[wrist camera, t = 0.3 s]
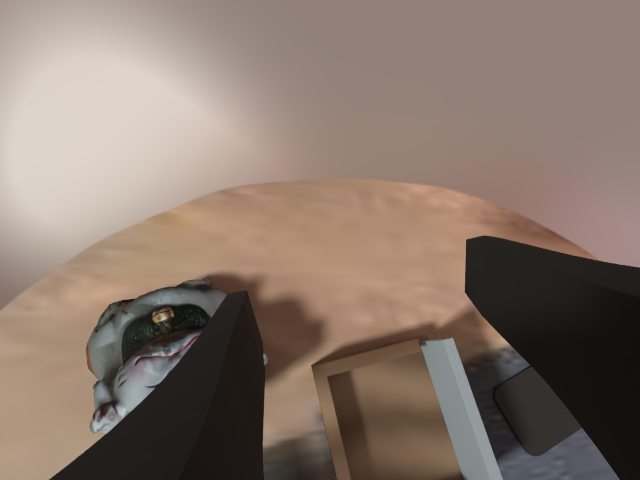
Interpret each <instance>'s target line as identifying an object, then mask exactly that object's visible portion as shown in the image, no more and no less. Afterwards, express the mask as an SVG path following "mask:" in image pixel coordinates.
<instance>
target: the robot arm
mask: <svg viewBox="0 0 640 480" xmlns="http://www.w3.org/2000/svg"><path fill="white" fill-rule="evenodd" d="M465 293H466V294H467V296H468V297H469V299H470V300H471V301H472V303H473V304H474V306H475V307H476V308H477V310H478V311H479V312H480V313H481V315H482V316H483V317H484V318H485V319H486V320H487V321H488V322H489V323H490V325H491V326H492V327H493V328H494V329H495V330H496V331H497V332H498V333H499V334H500V335H501V336H502V337H503V338H504V339H505V340H506V341H507V342H508V343H509V344H510V345H511V346H512V347H513V348H514V349H515V350H516V351H517V352H518V353H519V354H520V355H521V356H522V357H523V358H524V359H525V360H526V361H527V362H528V363H529V364H530V365H531V366H532V367H533V368H534V369H535V371H536V372H537V373H538V374H539V375H540V376H541V377H542V378H543V379H544V380H545V382H546V383H547V384H548V385H549V386H550V388H551V389H552V390H553V391H554V393H555V394H556V395H557V396H558V397H559V399H560V400H561V401H562V402H563V404H564V405H565V406H566V407H567V409H568V410H569V411H570V412H571V414H572V415H573V416H574V418H575V419H576V420H577V422H578V423H579V424H580V426H581V427H582V428H583V429H584V431H585V432H586V433H587V435H588V436H589V437H590V439H591V440H592V441H593V443H594V444H595V445H596V447H597V448H598V449H599V451H600V452H601V454H602V455H603V456H604V458H605V459H606V461H607V462H608V463H609V465H610V466H611V468H612V469H613V470H614V472H615V473H616V475H617V476H618V477H619V479H620V480H640V268H638V267H631V266H625V265H618V264H613V263H607V262H602V261H597V260H592V259H587V258H582V257H578V256H573V255H569V254H564V253H560V252H556V251H551V250H547V249H543V248H539V247H535V246H531V245H527V244H523V243H519V242H515V241H511V240H506V239H502V238H497V237H491V236H480V237H475V238H471V239H467V240H466V271H465ZM264 388H265V366H264V355H263V344H262V339H261V336H260V333H259V329H258V326H257V323H256V319H255V316H254V313H253V309H252V306H251V303H250V299H249V296H248V293H247V290H245V291H241V292H237V293H232V294H228V295H226V297H225V298H224V300H223V301H222V303H221V304H220V306H219V307H218V309H217V310H216V312H215V313H214V315H213V316H212V318H211V319H210V320H209V322H208V323H207V325H206V326H205V328H204V329H203V331H202V332H201V333H200V335H199V336H198V338H197V339H196V340H195V342H194V343H193V344H192V345H191V347H190V348H189V349H188V350H187V352H186V353H185V354H184V356H183V357H182V358H181V359H180V361H179V362H178V363H177V364H176V365H175V367H174V368H173V369H172V370H171V371H170V372H169V373H168V375H167V376H166V377H165V378H164V379H163V380H162V381H161V382H160V383H159V384H158V385H157V386H156V387H155V388H154V389H153V391H152V392H151V393H150V394H149V395H148V396H147V397H146V398H145V399H144V400H143V401H141V402H140V403H139V404H138V405H137V406H136V407H135V408H134V409H133V410H132V411H131V412H130V413H129V414H127V415H126V416H125V417H124V418H123V419H122V420H121V421H120V422H119V423H118V424H117V425H116V426H115V427H113V428H112V429H111V430H110V431H109V432H108V433H107V434H105V435H104V436H103V437H102V438H101V439H100V440H98V441H97V442H96V443H95V444H94V445H92V446H91V447H90V448H89V449H88V450H86V451H85V452H84V453H83V454H81V455H80V456H79V457H78V458H76V459H75V460H74V461H73V462H71V463H70V464H69V465H68V466H66V467H65V468H64V469H63V470H61V471H60V472H59V473H57V474H56V475H55V476H53V477H52V478H51V479H49V480H264V473H263V418H264Z"/></svg>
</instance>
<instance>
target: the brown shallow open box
mask: <svg viewBox="0 0 640 480" xmlns="http://www.w3.org/2000/svg"><path fill="white" fill-rule="evenodd" d="M426 340H428V339H427V336H421V337H417V338H413V339H410V340H406V341H402V342H398V343H394V344H391V345H387V346H383V347H379V348H375V349H372V350H368V351H364V352H360V353H356V354H353V355H349V356H345V357H341V358H337V359H334V360H330V361H326V362H322V363H318V364H315V365H311V366H312V371H313V375H314V380H315V384H316V389H317V393H318V398H319V402H320V407H321V411H322V416H323V420H324V425H325V429H326V433H327V438H328V442H329V447H330V451H331V456H332V460H333V465H334V469H335V474H336V478H337V480H464V479H463V476H462V473H461V470H460V467H459V463H458V460H457V457H456V454H455V451H454V448H453V445H452V442H451V439H450V435H449V432H448V429H447V426H446V423H445V420H444V417H443V414H442V410H441V407H440V404H439V401H438V398H437V395H436V392H435V389H434V386H433V382H432V379H431V376H430V373H429V370H428V367H427V364H426V361H425V358H424V354H423V351H422V348H421V345H420V342H423V341H426Z"/></svg>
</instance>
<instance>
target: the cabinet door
mask: <svg viewBox="0 0 640 480" xmlns="http://www.w3.org/2000/svg"><path fill="white" fill-rule="evenodd" d="M420 345H421V348H422V351H423V354H424V358H425V361H426V364H427V367H428V370H429V373H430V376H431V379H432V382H433V386H434V389H435V392H436V395H437V398H438V401H439V404H440V407H441V410H442V414H443V417H444V420H445V423H446V426H447V429H448V432H449V435H450V439H451V442H452V445H453V448H454V451H455V454H456V457H457V460H458V463H459V467H460V470H461V473H462V476H463V479H464V480H503V479H502V476H501V473H500V471H499V468H498V465H497V462H496V459H495V456H494V453H493V451H492V448H491V445H490V442H489V439H488V436H487V433H486V431H485V428H484V425H483V422H482V419H481V416H480V414H479V411H478V408H477V405H476V402H475V399H474V396H473V394H472V391H471V388H470V385H469V382H468V379H467V376H466V374H465V371H464V368H463V365H462V362H461V359H460V357H459V354H458V351H457V348H456V345H455V342H454V339H453V338H445V339H434V340H426V341H423V342H420Z"/></svg>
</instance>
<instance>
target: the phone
mask: <svg viewBox="0 0 640 480" xmlns="http://www.w3.org/2000/svg"><path fill="white" fill-rule="evenodd" d="M493 397H494V400H495V402H496V404H497V406H498V407H499V409H500V411H501V412H502V414H503V416H504V417H505V419H506V421H507V422H508V424H509V426H510V427H511V429H512V431H513V432H514V434H515V436H516V437H517V439H518V441H519V442H520V444H521V446H522V447H523V449H524V450H525V451H526V452H527V453H528V454H530V455H532V456H540V455H542V454H543V453H545V452H546V451H548V450H549V449H551V448H552V447H554V446H555V445H557V444H558V443H560V442H561V441H563V440H564V439H566V438H567V437H569V436H570V435H572V434H573V433H575V432H576V431H578V430H579V429H581V428H582V427H581V426H580V424H579V423H578V422H577V420H576V419H575V418H574V416H573V415H572V414H571V412H570V411H569V410H568V409H567V407H566V406H565V405H564V404H563V402H562V401H561V400H560V399H559V397H558V396H557V395H556V394H555V393H554V391H553V390H552V389H551V388H550V386H549V385H548V384H547V383H546V382H545V380H544V379H543V378H542V377H541V376H540V375H539V374H538V373H537V372H536V371H535V369H534V368H533V367H532V366H531V365H530V366H529V367H527V368H526V369H524V370H522V371H521V372H519V373H517V374H516V375H514V376H513V377H511V378H509V379H508V380H506V381H504V382H503V383H501V384H500V385H498V386H497V387H496V388H495V389H494V392H493Z"/></svg>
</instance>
